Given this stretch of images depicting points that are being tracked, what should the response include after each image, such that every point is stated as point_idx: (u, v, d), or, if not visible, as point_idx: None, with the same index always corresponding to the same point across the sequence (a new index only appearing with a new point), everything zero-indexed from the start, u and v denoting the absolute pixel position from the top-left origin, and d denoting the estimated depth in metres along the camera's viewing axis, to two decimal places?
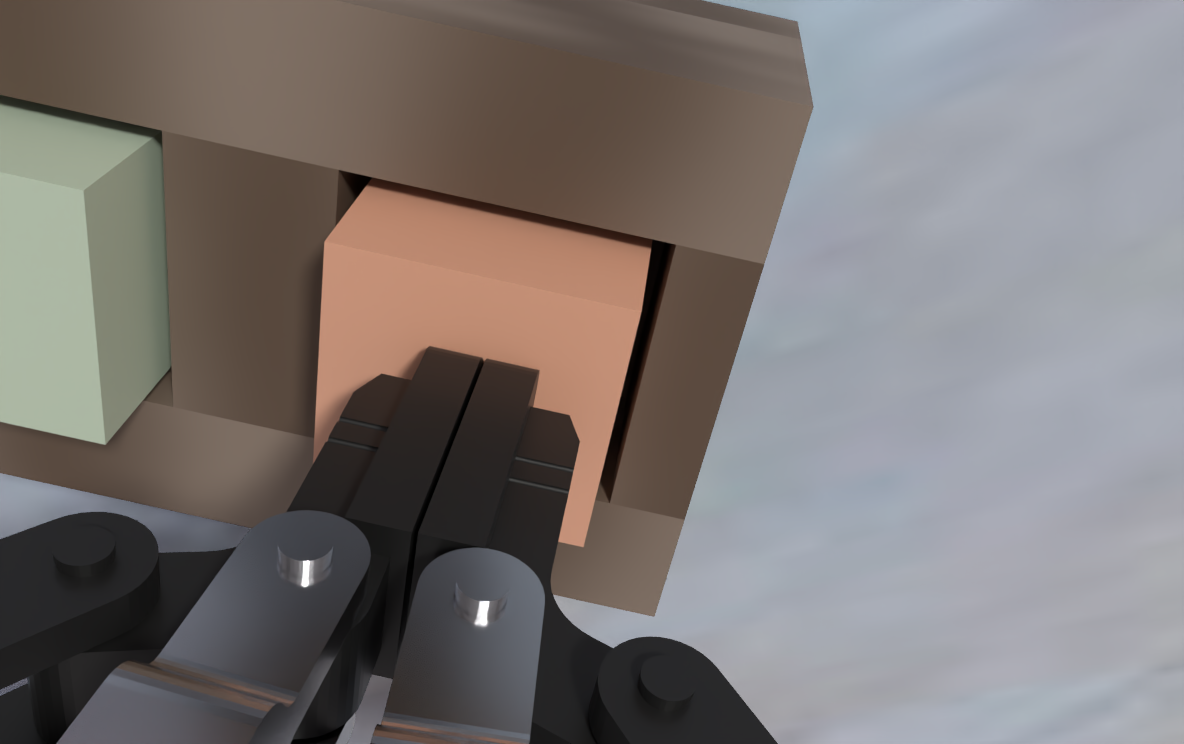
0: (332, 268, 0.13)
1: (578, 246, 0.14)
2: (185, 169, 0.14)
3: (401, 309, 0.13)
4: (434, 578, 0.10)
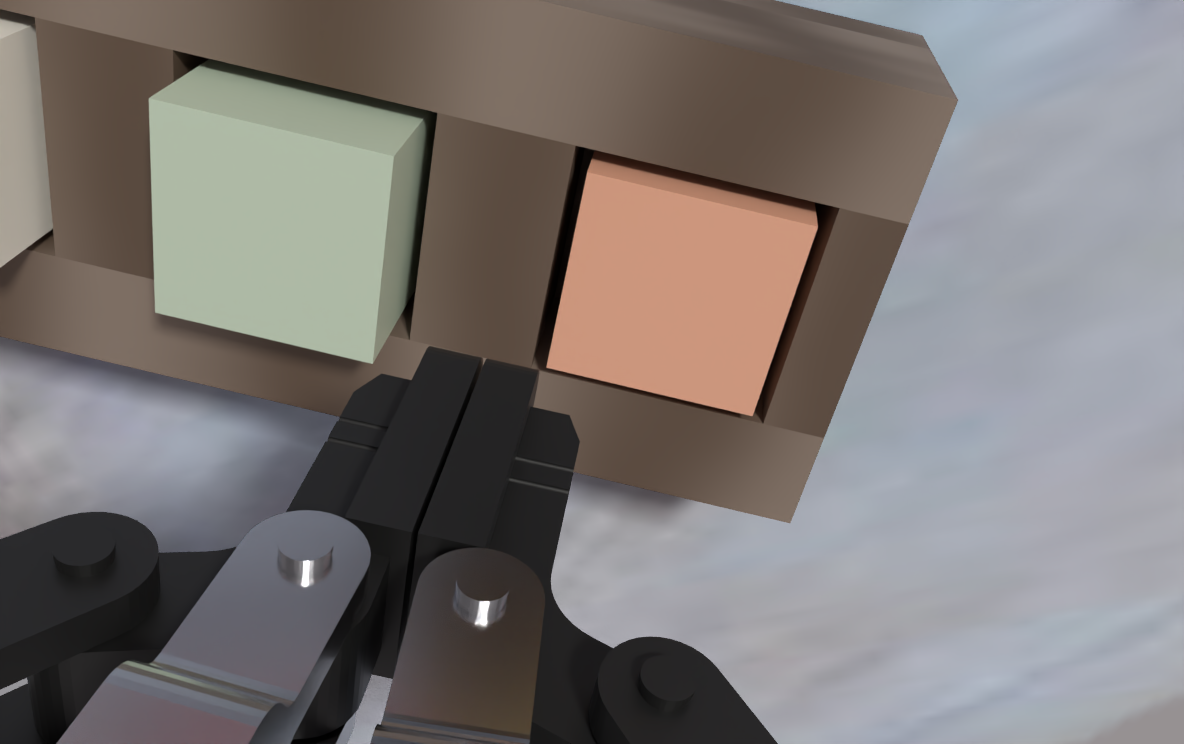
0: (589, 193, 0.18)
1: None
2: (451, 144, 0.18)
3: (637, 224, 0.18)
4: (434, 578, 0.10)
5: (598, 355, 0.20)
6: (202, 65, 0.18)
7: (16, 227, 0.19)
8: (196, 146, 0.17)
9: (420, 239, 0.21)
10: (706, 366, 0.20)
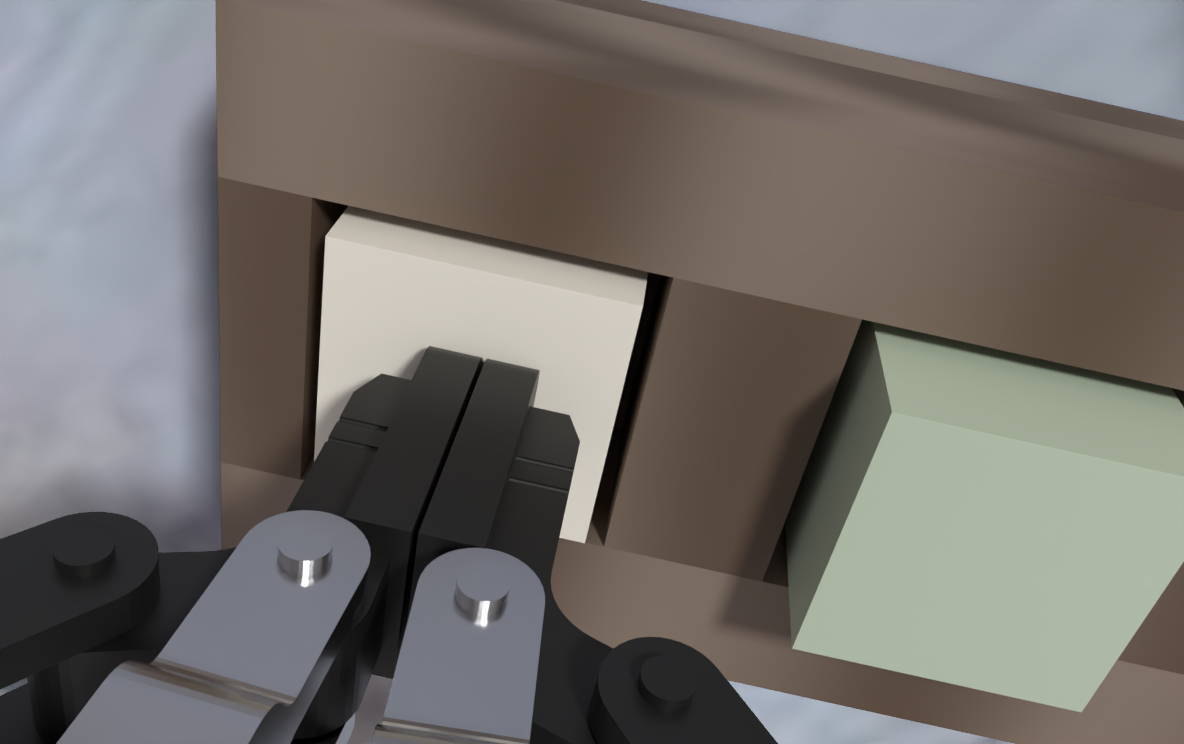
0: None
1: None
2: None
3: None
4: (434, 578, 0.10)
5: None
6: (877, 329, 0.14)
7: None
8: (938, 469, 0.12)
9: None
10: None
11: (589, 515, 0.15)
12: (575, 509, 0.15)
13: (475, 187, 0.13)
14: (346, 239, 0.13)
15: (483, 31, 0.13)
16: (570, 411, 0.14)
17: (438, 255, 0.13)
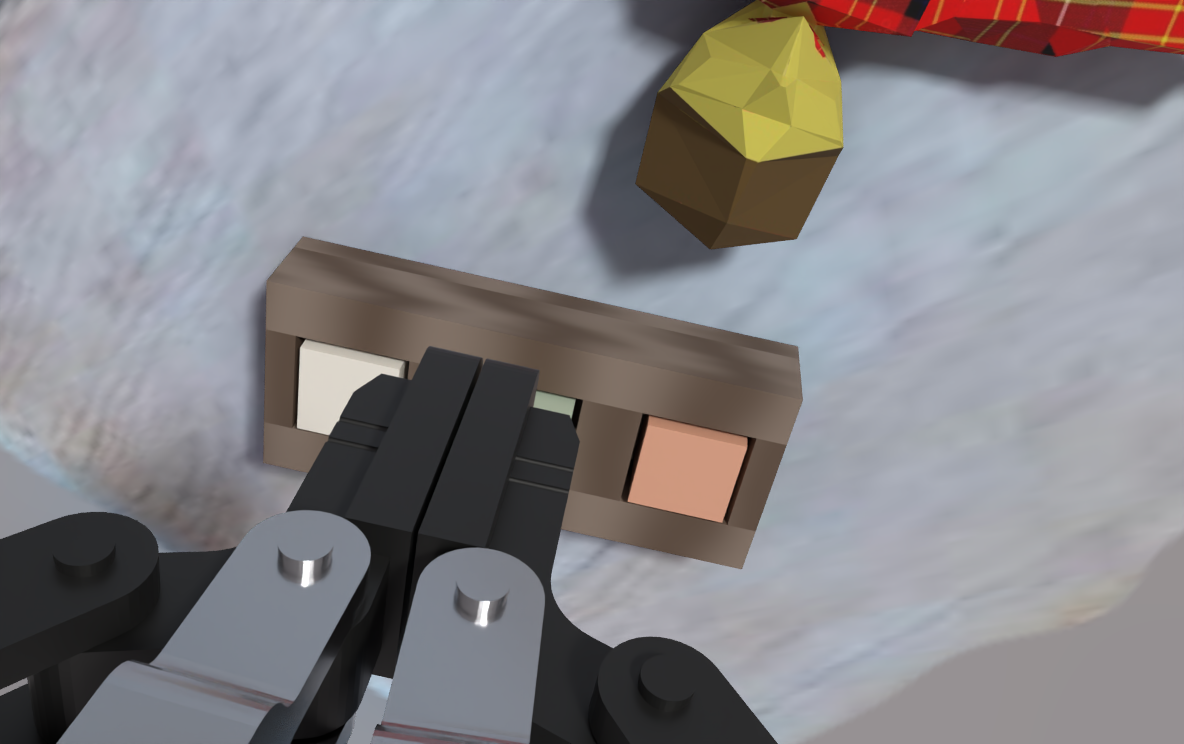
0: (649, 433, 0.42)
1: None
2: (588, 411, 0.42)
3: (669, 445, 0.42)
4: (434, 578, 0.10)
5: (651, 496, 0.44)
6: None
7: None
8: None
9: None
10: (700, 501, 0.43)
11: None
12: None
13: (346, 334, 0.41)
14: (306, 348, 0.42)
15: (347, 286, 0.41)
16: None
17: (335, 353, 0.42)
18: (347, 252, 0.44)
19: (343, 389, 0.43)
